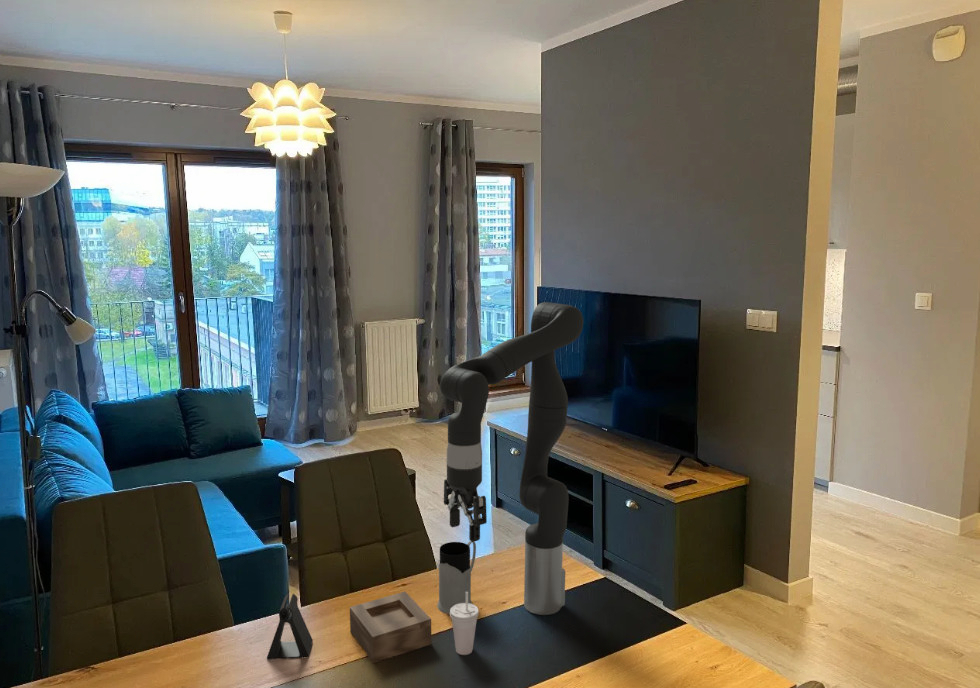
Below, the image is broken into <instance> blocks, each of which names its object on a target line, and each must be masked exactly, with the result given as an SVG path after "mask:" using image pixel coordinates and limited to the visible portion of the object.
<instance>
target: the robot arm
mask: <svg viewBox="0 0 980 688" xmlns="http://www.w3.org/2000/svg"><path fill="white" fill-rule="evenodd" d="M530 321H531V322H530V332H529V333H527V334H523V335H520V336H519V335H518V336H516V337H513V338H511V339H506V340H504V341H503V342H500V343H498V344H497V345H495V346H493V347H492V348H490V349H489V350H488V351H486V352H484V353H483V354H482V355H480V356H479V355H478V356H477V357H472V358H470V359H468V360H464V361H463V362H460V363H458V364H456V365H453V366H451V367H450V368H449V369H447V370H446V371H445V373H444V374H443V375H442V376H441V379H440V383H439V389H440V392H441V393H442V395H443V397H445V398H446V399H448V400H451V401H453V402H457V403H461V408H460V411H458V412H454V413H451V415H449V417H448V420H447V447H446V479H444V481H443V504H444V505H445V506H447V509H448V511H449V526H450V527H451V528H456V527H459V526H460V525H461V509H462V512H463V514H464V516H466V517H467V519H468V523H469V529H468V530H469V531H468V532H469V534H468V535H469V541H471V542H477V541H480V539H481V526H483V525H485V524H487V522H488V521H487V518H488V516H487V498H486V497H487V496H485V495H479V494H478V489H477V488H478V487H479V485H481V484H482V483H483V482H482V481H483V450H482V449H483V448H482V421H483V417H484V414H485V410H486V406H487V402H488V399H489V391H490V388H489V387H490V386H491V385H495V384H499V383H501V382H502V381H503V380H505V379H506V378H508V377H509V376H511V375H512V374H514V373H515V372H516V371H518V370H520V369H521V368H523V367H524V366H526V365H527V364H529V363H531V367H530V368H531V370H530V372H531V373H530V391H529V400H528V413H527V432H526V442H525V443H526V445H525V452H524V460H523V461H524V462H523V464H522V465H523V467H522V472H521V477H520V484H519V501H520V503H521V505H522V506H523V508H525V509H526V510H528V511H530V512H533V513H535V514H537V515H538V522H536V523H533V524H530V525H529V526H528V527H526V528H525V534H524V539H525V540H524V544H525V545H524V580H523V581H524V586H523V587H524V588H523V589H524V591H523V592H524V594H523V595H524V596H523V605H524V608H525V609H526V610H527V611H528V612H530V613H532V614H534V615H540V616H548V615H554V614H556V613H558V612H559V611H560V610H561V609H562V607H564V606H565V603H566V602H565V601H566V599H565V598H566V569H565V568H563V556H564V555H563V554H564V553H563V552H564V551H563V549H564V535H565V534H566V530H567V526H568V525H567V524H568V512H569V492H568V487H567V486H566V485H565V483H563V482H561V481H559V480H556V479H554V478H552V477H549V476H548V464H549V458H550V454H551V451H552V450H553V448H554V446H555V445H556V443H557V442H558V440H559V439H560V438H561V435H562V434H563V432H564V431H565V427H566V426H567V419H568V417H567V416H568V407H569V406H568V405H569V401H568V400H569V398H568V393H567V390H566V387H565V384H564V382H563V379H562V377H561V375H560V371H559V370H558V367H557V363H556V356H555V355H556V350H558V349H561V348H563V347H565V346H568V345H569V344H571V343H574V342H575V341H576V340H577V339H578V338H579V337H580V335H581V334H582V332H583V328H584V317H583V314H582V312H581V310H580V309H579V308H578V307H575V306H573V305H571V304H564V303H556V302H548V301H546V302H545V301H542V302H541V303H539V304H537V306H535V307H534V310H533V312H532V316H531V320H530ZM489 385H490V386H489ZM449 496H450V497H449ZM460 508H461V509H460Z"/></svg>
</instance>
